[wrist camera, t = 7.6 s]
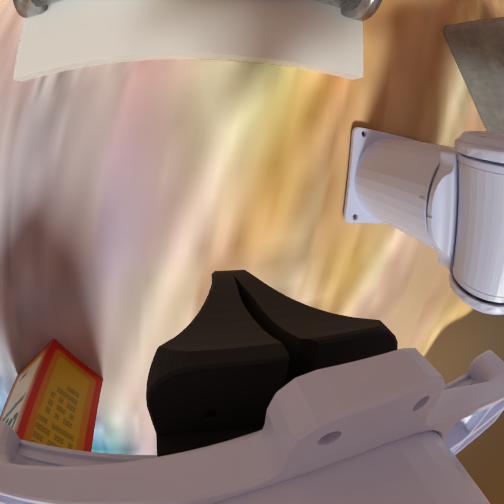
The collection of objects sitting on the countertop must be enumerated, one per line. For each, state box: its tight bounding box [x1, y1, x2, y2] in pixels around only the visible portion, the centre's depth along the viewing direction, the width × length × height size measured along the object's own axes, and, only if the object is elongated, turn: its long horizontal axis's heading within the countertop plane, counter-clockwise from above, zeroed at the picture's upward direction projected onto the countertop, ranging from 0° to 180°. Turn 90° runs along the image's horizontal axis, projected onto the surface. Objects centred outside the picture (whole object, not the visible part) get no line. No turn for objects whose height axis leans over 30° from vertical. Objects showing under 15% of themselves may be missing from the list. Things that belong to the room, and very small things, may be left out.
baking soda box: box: [0, 339, 103, 452], centre depth 16 cm, size 10×6×16 cm
